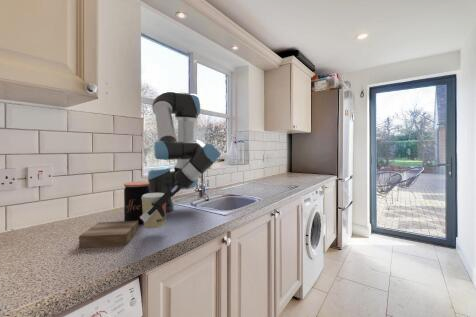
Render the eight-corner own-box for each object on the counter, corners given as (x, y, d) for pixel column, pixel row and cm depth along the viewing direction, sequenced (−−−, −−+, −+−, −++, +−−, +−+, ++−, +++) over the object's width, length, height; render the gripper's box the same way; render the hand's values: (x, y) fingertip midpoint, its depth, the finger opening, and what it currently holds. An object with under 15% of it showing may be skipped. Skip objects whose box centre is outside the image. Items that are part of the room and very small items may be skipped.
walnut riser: (99, 231, 92) (99, 222, 92) (138, 230, 94) (138, 220, 94) (79, 247, 77) (78, 236, 77) (126, 245, 80) (126, 234, 79)
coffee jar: (119, 223, 103) (118, 183, 102) (138, 217, 112) (138, 180, 112) (135, 227, 98) (135, 185, 97) (154, 220, 108) (154, 182, 107)
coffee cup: (158, 230, 84) (158, 198, 84) (136, 228, 86) (136, 196, 85) (171, 222, 93) (171, 193, 93) (150, 220, 95) (150, 191, 95)
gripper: (193, 186, 80) (146, 232, 79) (195, 177, 102) (158, 213, 100) (177, 171, 79) (129, 217, 78) (183, 165, 101) (145, 202, 99)
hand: (145, 215), depth 89 cm, fingers closed on coffee cup, 9 cm apart
